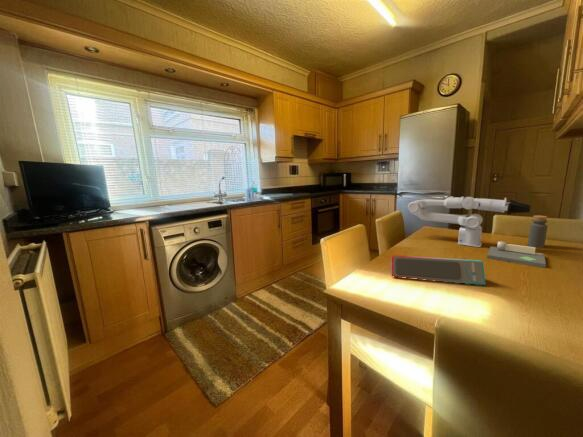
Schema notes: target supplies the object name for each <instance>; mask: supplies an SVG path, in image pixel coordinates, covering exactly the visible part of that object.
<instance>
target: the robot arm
mask: <svg viewBox="0 0 583 437" xmlns="http://www.w3.org/2000/svg"><path fill="white" fill-rule="evenodd" d="M507 201H508V199H507V197H504V199H494V198H484V197H482V198H481V197H480V198H479V197H478V198H477V197H476V198H474V197H472V196H466V197H465V196H461V197H455V196H452V195H451V196H448V197H447V198H445V199H433V198H432V199H431V198H428V199H427V198H426V199H424V198H423V199H415V200H414V201H411V202H409V203H408V204H407V209H408V211H409V212H410V214H411V215H415V216H416V217H417V218H419V219H420V220H422V221H429V222H436V223H438V222H439V223H448V224H454V225H460V227H459V230H458V237H457V240H458V241H457V245H462V246H469V247H475V248H481V247H482V245H483V243H482V242H481V241H482V232H483V227H482V226H481V224H482V223H483V221H484V219H483V216H482V215H481V214H479V213H472V214H455V213H452V214H451V213H443V212H431V211H429V210H428V209H426V207H430V206H431V207H432V206H433V207H439V206H442V207H443V206H444V207H445V208H446V209H462V208H463V209H465V210H473V209H474V210H478V211H479V210H480V211H488V212H497V213H505V211H506V212H507V213H506V215H511V214H517V213H518V214H521V213H530V211H531V204H527V203H524V202H523V203H522V202H519V201H516V200H514V199H510V202H507Z"/></svg>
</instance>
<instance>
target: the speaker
mask: <svg viewBox="0 0 583 437" xmlns="http://www.w3.org/2000/svg"><path fill="white" fill-rule="evenodd" d="M484 268H485V267H484V262H483V261H482V260H479V259H478V260H477V259H466V258H462V259H460V258H449V257H448V258H443V257H429V256H413V255H412V256H411V255H397V254H395V255H394V254H393V255H392V256H391V260H390V273H391V277H392V276H394V277H406V278H417V279H426V280H435V281H434V282H436V281H444V282H443V283H447V282H455V283H454V284H459V283H465V284H464V285H470V284H475V285H474V286H482V285H484V286H485V285H487V284H486V276H485V269H484Z"/></svg>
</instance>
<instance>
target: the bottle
mask: <svg viewBox="0 0 583 437" xmlns="http://www.w3.org/2000/svg"><path fill="white" fill-rule="evenodd" d="M547 218H548V216H547V215H538V214H537V215H533V218H532V220H531V222H533V223H530V226H529V232H528V239H527V246H528V247H536V248H540V249H541V248H545V243H546V237H547V230H548V225H547V224H546V223H548V220H547Z"/></svg>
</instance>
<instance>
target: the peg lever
mask: <svg viewBox="0 0 583 437" xmlns="http://www.w3.org/2000/svg"><path fill="white" fill-rule="evenodd" d="M496 247H497V249H498V250H507V251H514V252H521V253H528V254H538V255H542V254H543V253H542V254H541V253H540V252H536V248H537V247H532V246H529V245H518V244H512V243H507V242H506V241H502V240H501V241H497V245H496Z"/></svg>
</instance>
